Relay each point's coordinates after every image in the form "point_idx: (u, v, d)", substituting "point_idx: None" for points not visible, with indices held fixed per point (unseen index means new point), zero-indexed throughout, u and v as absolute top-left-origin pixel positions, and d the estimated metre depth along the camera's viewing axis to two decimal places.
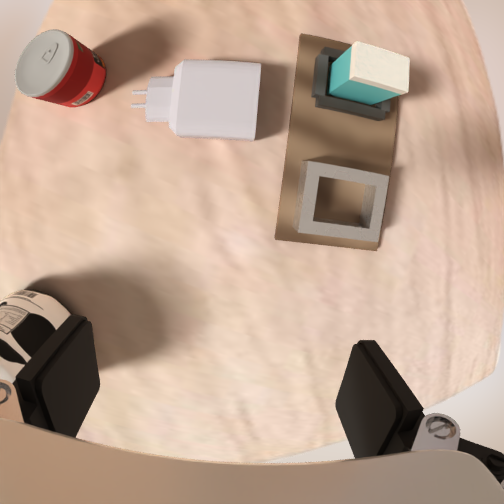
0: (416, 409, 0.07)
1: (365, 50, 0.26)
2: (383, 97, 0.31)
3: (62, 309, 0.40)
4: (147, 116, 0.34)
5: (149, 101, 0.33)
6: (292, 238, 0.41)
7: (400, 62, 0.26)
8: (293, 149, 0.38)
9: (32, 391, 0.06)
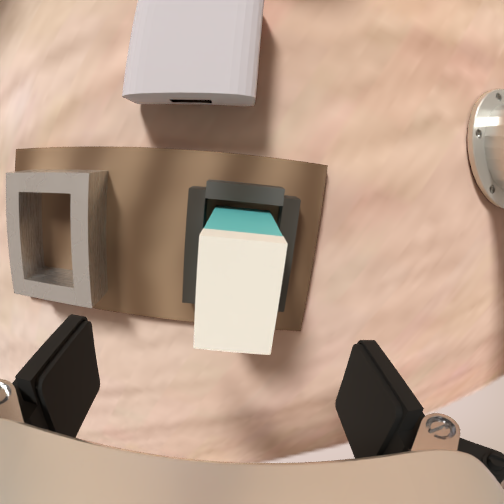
0: (416, 409, 0.07)
1: (266, 262, 0.15)
2: None
3: None
4: None
5: None
6: None
7: (254, 336, 0.16)
8: (123, 155, 0.23)
9: (32, 391, 0.06)
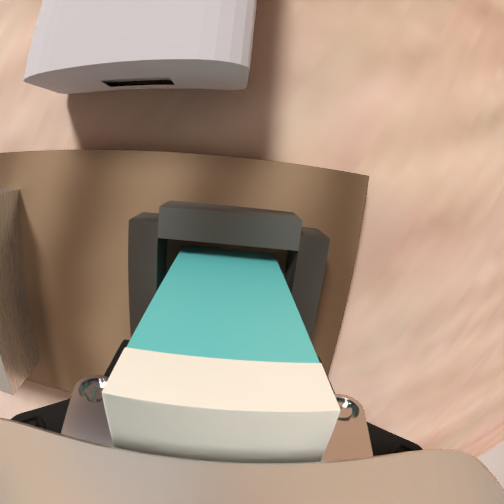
0: None
1: (283, 448, 0.05)
2: None
3: None
4: None
5: None
6: None
7: None
8: (38, 164, 0.13)
9: None
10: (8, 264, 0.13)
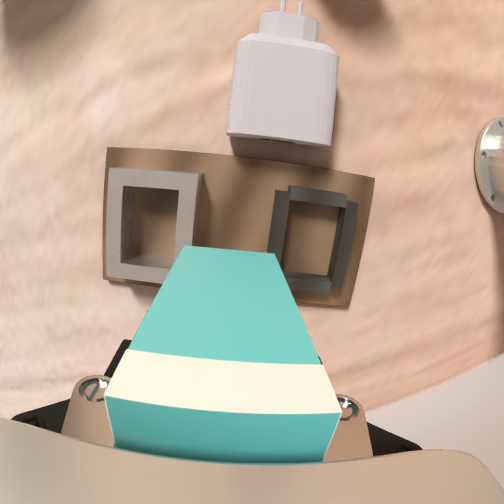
0: None
1: (285, 449, 0.05)
2: None
3: None
4: (266, 14, 0.24)
5: (285, 16, 0.24)
6: (108, 168, 0.29)
7: None
8: (217, 161, 0.30)
9: None
10: (197, 211, 0.30)
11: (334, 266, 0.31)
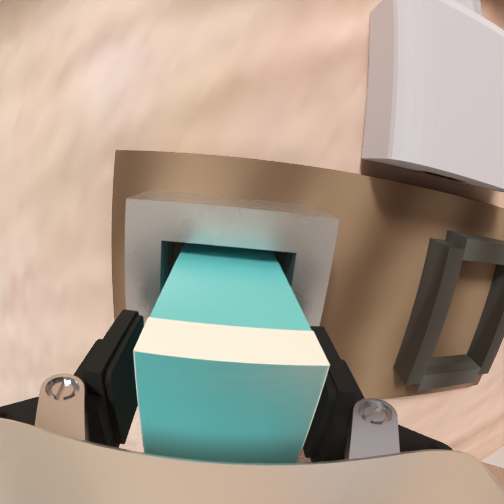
0: (349, 392, 0.08)
1: (282, 399, 0.07)
2: None
3: None
4: None
5: None
6: (119, 192, 0.15)
7: None
8: (344, 185, 0.15)
9: (100, 383, 0.07)
10: None
11: (487, 347, 0.17)
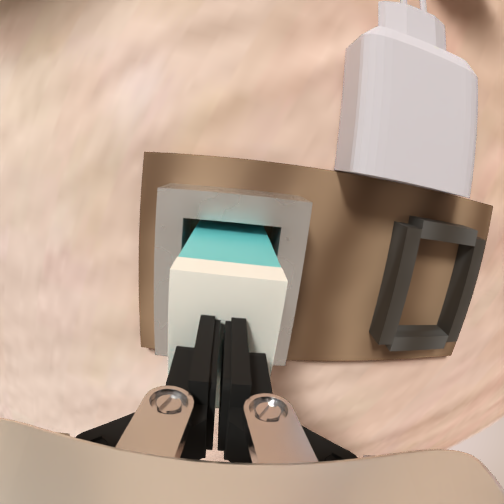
0: (242, 384, 0.08)
1: (259, 305, 0.11)
2: None
3: None
4: (388, 3, 0.15)
5: (414, 11, 0.15)
6: (147, 184, 0.20)
7: None
8: (321, 179, 0.20)
9: (207, 391, 0.08)
10: None
11: (453, 317, 0.22)
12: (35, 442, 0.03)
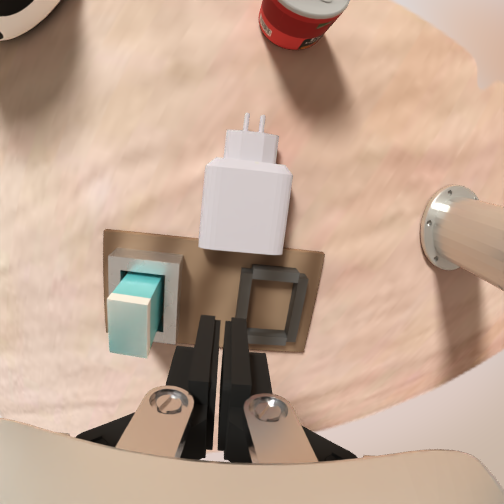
0: (242, 384, 0.08)
1: (138, 313, 0.29)
2: None
3: (46, 11, 0.26)
4: (231, 131, 0.33)
5: (248, 135, 0.33)
6: (106, 247, 0.37)
7: (138, 348, 0.30)
8: (194, 245, 0.38)
9: (207, 391, 0.08)
10: (179, 287, 0.37)
11: (289, 326, 0.40)
12: (35, 442, 0.03)
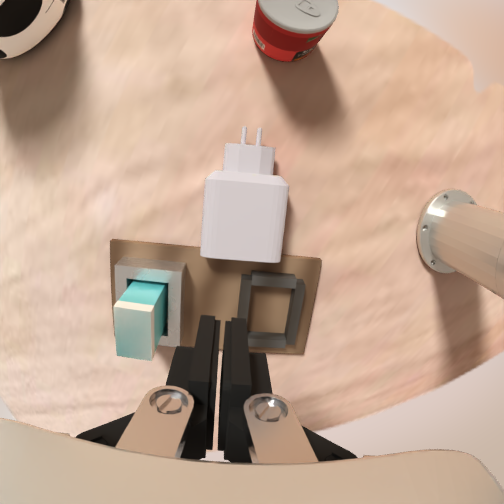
0: (242, 384, 0.08)
1: (142, 319, 0.31)
2: None
3: (47, 30, 0.28)
4: (230, 145, 0.35)
5: (245, 148, 0.34)
6: (112, 256, 0.39)
7: (143, 351, 0.32)
8: (196, 254, 0.40)
9: (207, 391, 0.08)
10: (183, 293, 0.40)
11: (288, 329, 0.41)
12: (35, 442, 0.03)
